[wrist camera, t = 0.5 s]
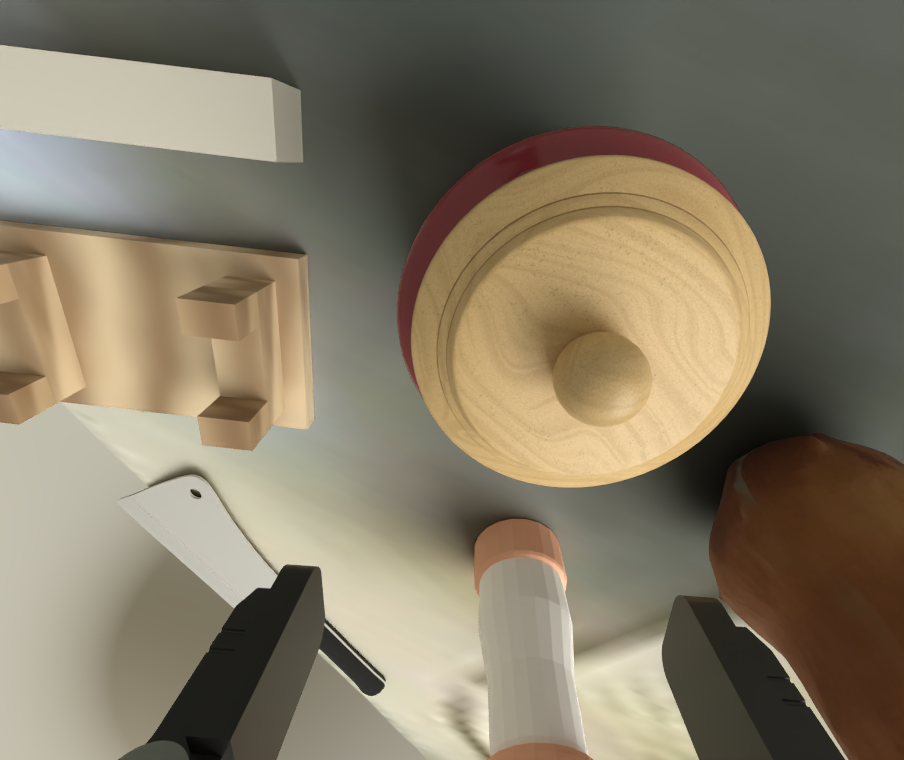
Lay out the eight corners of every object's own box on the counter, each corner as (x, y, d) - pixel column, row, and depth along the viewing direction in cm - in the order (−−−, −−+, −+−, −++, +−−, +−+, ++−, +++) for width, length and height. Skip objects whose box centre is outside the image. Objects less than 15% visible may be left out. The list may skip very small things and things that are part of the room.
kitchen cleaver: (108, 507, 37) (185, 475, 33) (124, 493, 38) (199, 461, 35) (322, 703, 48) (396, 694, 45) (328, 686, 50) (400, 676, 46)
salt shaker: (480, 512, 36) (485, 832, 19) (568, 524, 36) (654, 853, 19) (468, 574, 39) (462, 895, 22) (549, 584, 39) (607, 913, 22)
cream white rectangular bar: (-39, 120, 25) (-125, 113, 22) (-65, 46, 24) (-161, 25, 20) (305, 162, 25) (276, 162, 22) (302, 91, 24) (271, 78, 20)
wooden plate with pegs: (47, 388, 33) (-47, 436, 27) (-12, 218, 27) (-144, 232, 21) (314, 418, 33) (279, 473, 27) (307, 254, 27) (261, 278, 21)
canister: (387, 222, 26) (251, 307, 10) (591, 91, 23) (850, -77, 7) (489, 390, 31) (503, 626, 15) (671, 302, 28) (936, 486, 12)
